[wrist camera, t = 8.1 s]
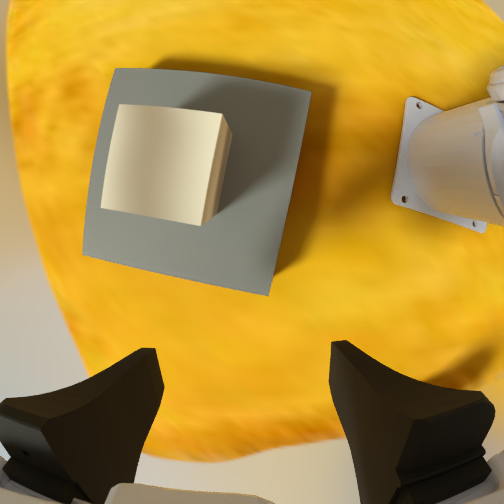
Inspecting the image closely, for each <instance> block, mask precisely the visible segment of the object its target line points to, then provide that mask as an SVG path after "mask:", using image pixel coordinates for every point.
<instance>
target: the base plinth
mask: <svg viewBox="0 0 504 504" xmlns="http://www.w3.org/2000/svg"><path fill="white" fill-rule="evenodd" d="M311 93H312V92H311V91H307V90H303V89H298V88H294V87H290V86H285V85H280V84H275V83H270V82H265V81H260V80H254V79H248V78H242V77H235V76H228V75H221V74H213V73H204V72H194V71H182V70H167V69H143V68H115V71H114V74H113V78H112V81H111V84H110V88H109V92H108V95H107V99H106V103H105V107H104V111H103V115H102V119H101V124H100V128H99V133H98V137H97V142H96V147H95V153H94V158H93V164H92V170H91V176H90V183H89V190H88V198H87V206H86V215H85V226H84V238H83V253H82V255H85V256H89V257H93V258H97V259H101V260H105V261H109V262H113V263H118V264H122V265H126V266H130V267H134V268H139V269H143V270H147V271H151V272H156V273H160V274H165V275H169V276H173V277H178V278H183V279H187V280H192V281H196V282H201V283H206V284H210V285H215V286H220V287H225V288H230V289H235V290H240V291H245V292H250V293H255V294H260V295H265V296H269V292H270V287H271V283H272V279H273V274H274V270H275V266H276V261H277V257H278V252H279V248H280V243H281V239H282V234H283V230H284V225H285V221H286V216H287V212H288V207H289V202H290V198H291V193H292V188H293V184H294V179H295V174H296V169H297V164H298V159H299V155H300V150H301V145H302V140H303V135H304V130H305V125H306V119H307V114H308V109H309V104H310V99H311ZM119 104H127V105H145V106H159V107H170V108H180V109H189V110H198V111H206V112H213V113H220V114H223V116H224V118H225V120H226V122H227V124H228V126H229V128H230V130H231V132H232V134H233V135H232V140H231V145H230V150H229V155H228V160H227V165H226V170H225V175H224V180H223V185H222V190H221V196H220V201H219V206H218V212H217V215H215V216H214V217H213V218H211V219H210V220H208V221H207V222H206V223H204V224H203V225H201V226H197V225H192V224H187V223H181V222H176V221H171V220H165V219H160V218H155V217H149V216H144V215H138V214H133V213H127V212H121V211H116V210H110V209H105V208H101V200H102V192H103V185H104V179H105V172H106V166H107V160H108V155H109V149H110V144H111V139H112V134H113V129H114V125H115V120H116V116H117V112H118V107H119Z"/></svg>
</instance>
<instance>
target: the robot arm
mask: <svg viewBox="0 0 504 504" xmlns="http://www.w3.org/2000/svg"><path fill="white" fill-rule="evenodd" d="M487 92H488V93H489V95H490V96H491V97H489V98H486V99H483V100H479V101H476V102H473V103H470V104H467V105H463V106H460V107H457V108H454V109H451V110H448V111H443V110H441V109H439V108H437V107H435V106H433V105H431V104H428V103H426V102H424V101H422V100H419V99H417V98H415V97H409V98H407V99H406V102H405V110H404V118H403V126H402V133H401V140H400V146H399V153H398V159H397V164H396V170H395V175H394V181H393V186H392V191H391V196H390V198H391V201H392V202H393V203H394V204H396V205H399V206H402V207H406V208H409V209H412V210H415V211H418V212H422V213H425V214H428V215H431V216H434V217H437V218H440V219H443V220H446V221H449V222H452V223H454V224H457V225H460V226H463V227H466V228H468V229H471V230H474V231H477V232H479V233H484V232H485V230H486V227H487V223H491V224H496V225H500V226H504V65H503V66H501V67H499V68H497V69H496V70H494V71H493V72H491V74H490V78H489V84H488V85H487ZM416 104H419V106H420V109H419V108H417V106H416ZM403 196H405V198H406V200H405V202H404V203H403V202H402V197H403ZM473 221H474V226H473ZM329 386H330V390H331V395H332V399H333V403H334V406H335V408H336V411H337V414H338V416H339V419H340V421H341V424H342V427H343V429H344V432H345V435H346V437H347V440H348V443H349V446H350V450H351V454H352V459H353V463H354V468H355V473H356V477H357V484H358V490H359V496H360V502H361V504H504V450H503V451H501V452H500V453H498V454H496V455H494V456H493V457H492V458H490V459H489V460H488V461H487V462H486V461H485V459H484V458H483V456H484V455H485V453H486V452H485V449H484V448H483V446H482V443H483V441H484V439H485V437H486V435H487V434H488V432H489V430H490V428H491V426H492V423H493V420H494V417H495V408H494V405H493V404H492V403H491V402H490V401H489V400H488V398H487V397H486V396H485V395H484V394H483V393H482V392H481V391H470V390H457V389H451V388H445V387H440V386H435V385H431V384H428V383H425V382H421V381H418V380H415V379H413V378H410V377H408V376H405V375H403V374H401V373H398V372H396V371H394V370H392V369H391V368H389V367H387V366H385V365H383V364H382V363H380V362H378V361H377V360H375V359H373V358H372V357H370V356H369V355H367V354H366V353H364V352H363V351H361V350H360V349H359V348H357V347H356V346H354V345H353V344H351V343H350V342H348V341H347V340H343V341H333V342H331V358H330V372H329ZM163 391H164V383H163V379H162V375H161V371H160V367H159V362H158V358H157V354H156V349H155V348H141V349H138V350H137V351H135V352H133V353H131V354H130V355H128V356H127V357H125V358H123V359H122V360H120V361H119V362H117V363H115V364H114V365H112V366H110V367H109V368H107V369H105V370H103V371H101V372H100V373H98V374H96V375H94V376H92V377H90V378H88V379H86V380H84V381H82V382H79V383H77V384H75V385H72V386H69V387H66V388H63V389H60V390H57V391H53V392H50V393H45V394H41V395H34V396H28V397H17V398H6V399H5V400H3V401H2V402H1V403H0V442H1V443H2V445H3V446H4V448H5V449H6V451H7V452H8V454H9V455H10V456H11V458H10V459H9V460H8V462H7V461H6V460H5V459H4V458H3V457H1V456H0V504H275V503H273V502H271V501H268V500H266V499H263V498H260V497H258V496H255V495H246V494H238V493H218V492H201V491H189V490H179V489H170V488H163V487H156V486H149V485H143V484H134V479H135V474H136V470H137V466H138V462H139V458H140V454H141V451H142V448H143V445H144V442H145V440H146V438H147V435H148V433H149V431H150V428H151V426H152V424H153V421H154V419H155V417H156V414H157V412H158V409H159V407H160V404H161V400H162V396H163Z"/></svg>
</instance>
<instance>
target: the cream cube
mask: <svg viewBox="0 0 504 504" xmlns="http://www.w3.org/2000/svg"><path fill="white" fill-rule="evenodd" d="M232 135H233V134H232V132H231V130H230V128H229V126H228V124H227V122H226V120H225V118H224V116H223V114H220V113H213V112H206V111H198V110H189V109H180V108H170V107H159V106H145V105H127V104H119V107H118V112H117V116H116V120H115V125H114V129H113V134H112V139H111V144H110V149H109V155H108V160H107V166H106V172H105V179H104V185H103V192H102V200H101V208H105V209H110V210H116V211H121V212H127V213H133V214H138V215H144V216H149V217H155V218H160V219H165V220H171V221H176V222H181V223H187V224H192V225H197V226H201V225H203V224H204V223H206V222H207V221H208V220H210V219H211V218H213V217H214V216H215V215H217V212H218V206H219V201H220V196H221V190H222V185H223V180H224V175H225V170H226V165H227V160H228V155H229V150H230V145H231V140H232Z"/></svg>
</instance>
